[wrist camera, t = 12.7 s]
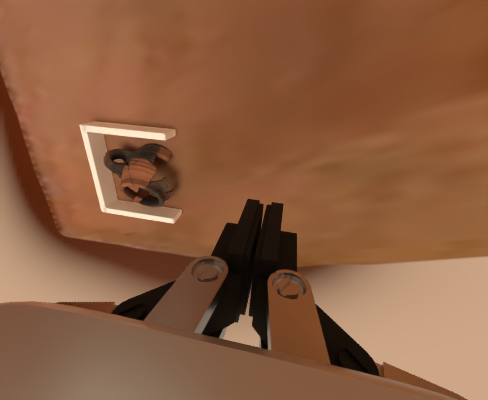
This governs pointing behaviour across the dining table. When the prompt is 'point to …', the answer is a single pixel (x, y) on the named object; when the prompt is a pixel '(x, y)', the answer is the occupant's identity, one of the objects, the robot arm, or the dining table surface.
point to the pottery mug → (140, 173)
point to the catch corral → (103, 175)
